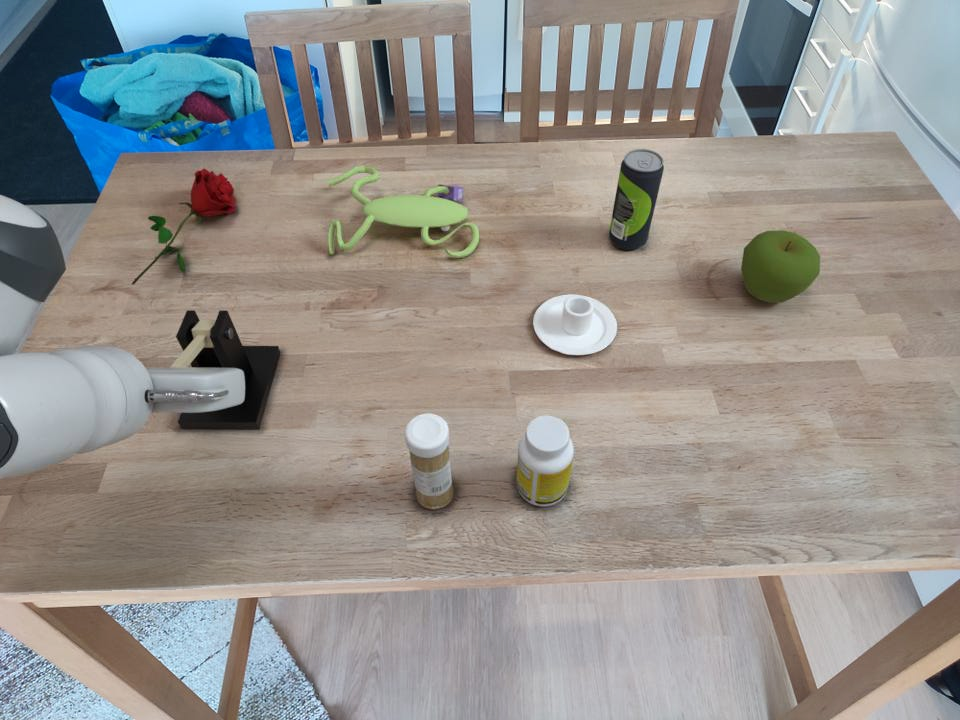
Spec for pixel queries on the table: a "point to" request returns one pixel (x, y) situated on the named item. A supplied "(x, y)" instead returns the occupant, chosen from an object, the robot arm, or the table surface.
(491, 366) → the table surface
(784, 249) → the apple
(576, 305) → the candle holder
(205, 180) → the flower
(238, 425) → the bracket
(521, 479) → the pill bottle
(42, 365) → the robot arm
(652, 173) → the beverage can
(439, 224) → the figurine
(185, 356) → the lever
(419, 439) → the sprinkles bottle
